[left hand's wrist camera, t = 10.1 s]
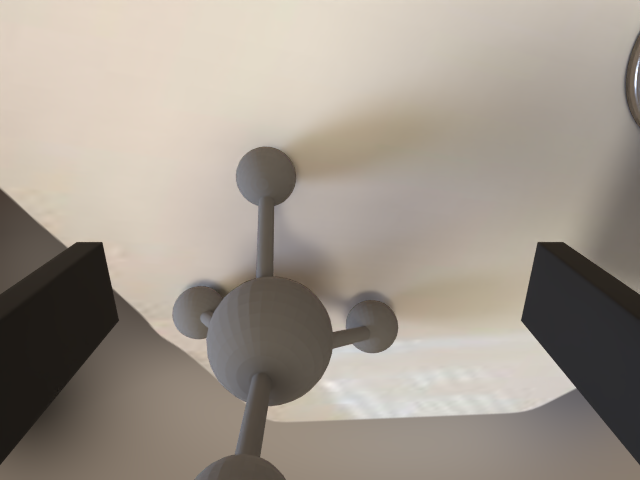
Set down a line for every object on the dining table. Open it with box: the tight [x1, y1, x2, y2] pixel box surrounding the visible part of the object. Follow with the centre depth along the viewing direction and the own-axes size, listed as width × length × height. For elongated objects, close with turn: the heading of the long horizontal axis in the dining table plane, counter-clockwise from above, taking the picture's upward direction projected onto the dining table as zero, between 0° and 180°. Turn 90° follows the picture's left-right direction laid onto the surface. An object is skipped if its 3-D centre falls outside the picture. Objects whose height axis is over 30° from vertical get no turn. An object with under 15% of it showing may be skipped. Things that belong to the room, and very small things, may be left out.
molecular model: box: [173, 147, 398, 480], centre depth 30 cm, size 24×22×30 cm
